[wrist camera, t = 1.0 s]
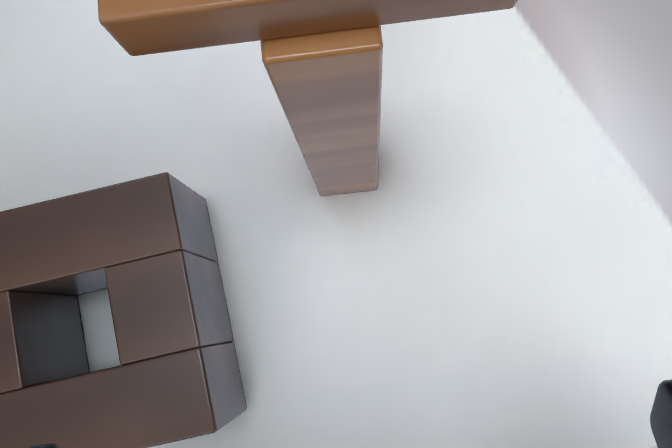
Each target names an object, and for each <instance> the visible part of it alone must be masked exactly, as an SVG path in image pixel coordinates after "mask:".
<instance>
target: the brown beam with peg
mask: <svg viewBox="0 0 672 448" xmlns="http://www.w3.org/2000/svg"><path fill="white" fill-rule="evenodd" d="M516 2H517V0H98V13H99V21H100V23H101V25H102V26H103V27H104V28H105V29H106V30H107V31H108V32H109V33H110V34H111V35H112V36H113V38H114V39H115V40H116V41H117V42H118V43H119V44H120V45H121V46H122V47H123V48H124V49H125V51H126V52H127V53H128V54H129V55H132V56H138V55H146V54H154V53H162V52H170V51H178V50H186V49H194V48H202V47H210V46H218V45H226V44H234V43H242V42H249V41H257V40H260V41H261V52H262V61H263V63H264V66H265V68H266V70H267V73H268V75H269V77H270V80H271V82H272V84H273V87H274V89H275V91H276V94H277V96H278V98H279V101H280V103H281V105H282V108H283V110H284V112H285V115H286V117H287V119H288V122H289V124H290V126H291V129H292V131H293V133H294V135H295V138H296V140H297V142H298V145H299V147H300V149H301V152H302V154H303V156H304V159H305V161H306V163H307V166H308V168H309V170H310V173H311V175H312V177H313V180H314V182H315V184H316V187H317V189H318V191H319V194H320V196H328V195H336V194H345V193H354V192H362V191H371V190H376V189H377V188H378V164H379V136H380V108H381V81H382V53H383V43H382V35H381V27H380V25H384V24H392V23H400V22H408V21H416V20H424V19H432V18H440V17H448V16H456V15H464V14H472V13H480V12H488V11H496V10H503V9H510V8H513V7H514V6H515V4H516Z"/></svg>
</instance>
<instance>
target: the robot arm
mask: <svg viewBox="0 0 672 448" xmlns="http://www.w3.org/2000/svg"><path fill="white" fill-rule="evenodd" d="M650 423H651V428H652V432H653V435H654V438H655V441H656V443H657V446H658V448H672V380H665V381H663V382H661V383H660V384H659V387H658V390H657V393H656V397H655V400H654V404H653V407H652V411H651V415H650ZM28 448H61V447H60V446H59V445H58V444H55V443H49V444H39V445H33V446H30V447H28Z"/></svg>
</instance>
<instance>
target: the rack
mask: <svg viewBox="0 0 672 448" xmlns="http://www.w3.org/2000/svg"><path fill="white" fill-rule="evenodd" d="M105 288H108V293H109V299H110V305H111V311H112V317H113V323H114V329H115V335H116V341H117V347H118V353H119V359H120V363H121V366H116V367H112V368H108V369H103V370H99V371H95V372H90V373H89V369H88V363H87V356H86V350H85V344H84V338H83V331H82V325H81V319H80V313H79V306H78V300H77V296H75V295H80V294H84V293H88V292H92V291H97V290H101V289H105ZM232 341H233V336H232V331H231V326H230V321H229V316H228V311H227V306H226V301H225V296H224V291H223V286H222V280H221V275H220V270H219V265H218V263H217V255H216V250H215V245H214V240H213V235H212V230H211V225H210V220H209V215H208V210H207V205H206V200H205V199H204V198H203V197H201V196H200V195H198V194H197V193H196V192H194V191H193V190H191V189H190V188H189V187H187V186H186V185H184V184H183V183H182V182H180V181H179V180H177V179H176V178H175V177H173V176H172V175H170V174H169V173H167V172H165V173H161V174H157V175H153V176H148V177H144V178H140V179H136V180H132V181H128V182H123V183H119V184H115V185H111V186H107V187H102V188H98V189H94V190H90V191H86V192H81V193H77V194H73V195H69V196H65V197H61V198H56V199H52V200H48V201H44V202H40V203H35V204H31V205H27V206H23V207H19V208H15V209H10V210H6V211H2V212H0V448H28V447H30V446H33V445H39V444H49V443H55V444H58V445H59V446H60V447H61V448H149V447H153V446H157V445H162V444H166V443H171V442H175V441H179V440H184V439H188V438H192V437H197V436H201V435H206V434H210V433H214V432H216V431H217V430H219V429H220V428H221V427H223V426H224V425H226V424H227V423H228V422H230V421H231V420H232V419H234V418H235V417H237V416H238V415H239V414H241V413H242V412H244V411H245V410H246V408H247V407H246V402H245V397H244V392H243V387H242V382H241V377H240V372H239V367H238V362H237V357H236V351H235V346H234V343H233V342H232Z"/></svg>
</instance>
